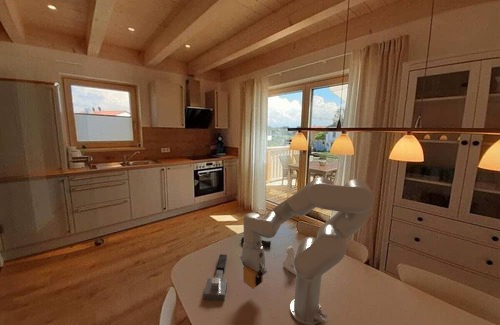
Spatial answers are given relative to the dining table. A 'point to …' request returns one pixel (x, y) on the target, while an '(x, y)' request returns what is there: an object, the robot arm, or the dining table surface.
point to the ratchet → (217, 282)
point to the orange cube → (250, 277)
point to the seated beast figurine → (290, 260)
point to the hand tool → (265, 243)
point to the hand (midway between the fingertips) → (253, 279)
